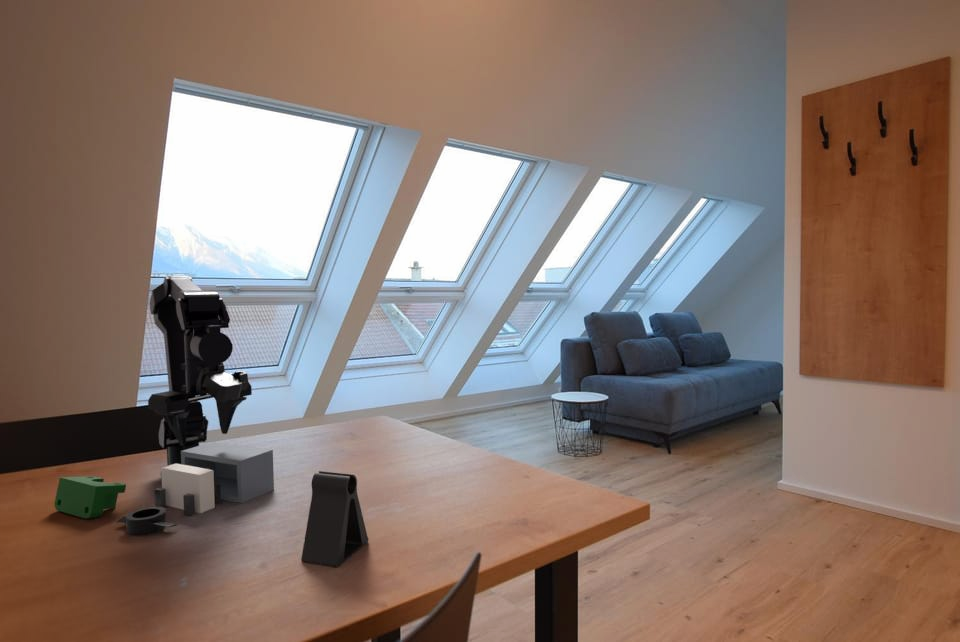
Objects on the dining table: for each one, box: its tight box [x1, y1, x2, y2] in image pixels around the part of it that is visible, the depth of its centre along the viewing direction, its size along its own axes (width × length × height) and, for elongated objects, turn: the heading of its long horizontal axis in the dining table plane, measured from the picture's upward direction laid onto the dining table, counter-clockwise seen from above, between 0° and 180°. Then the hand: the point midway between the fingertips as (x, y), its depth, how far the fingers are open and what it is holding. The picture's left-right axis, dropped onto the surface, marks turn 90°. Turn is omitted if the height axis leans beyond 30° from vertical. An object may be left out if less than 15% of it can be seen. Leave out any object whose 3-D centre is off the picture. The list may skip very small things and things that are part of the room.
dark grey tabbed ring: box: [115, 506, 178, 537], centre depth 99 cm, size 8×10×3 cm
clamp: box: [54, 475, 127, 519], centre depth 108 cm, size 12×6×9 cm, turn 57°
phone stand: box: [300, 470, 369, 568], centre depth 89 cm, size 9×6×12 cm, turn 161°
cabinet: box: [181, 441, 275, 504], centre depth 117 cm, size 16×8×8 cm, turn 65°
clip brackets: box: [154, 484, 222, 517], centre depth 109 cm, size 9×7×4 cm
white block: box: [160, 464, 216, 514], centre depth 109 cm, size 10×4×7 cm, turn 65°
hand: (204, 439), depth 114 cm, fingers open, 9 cm apart
